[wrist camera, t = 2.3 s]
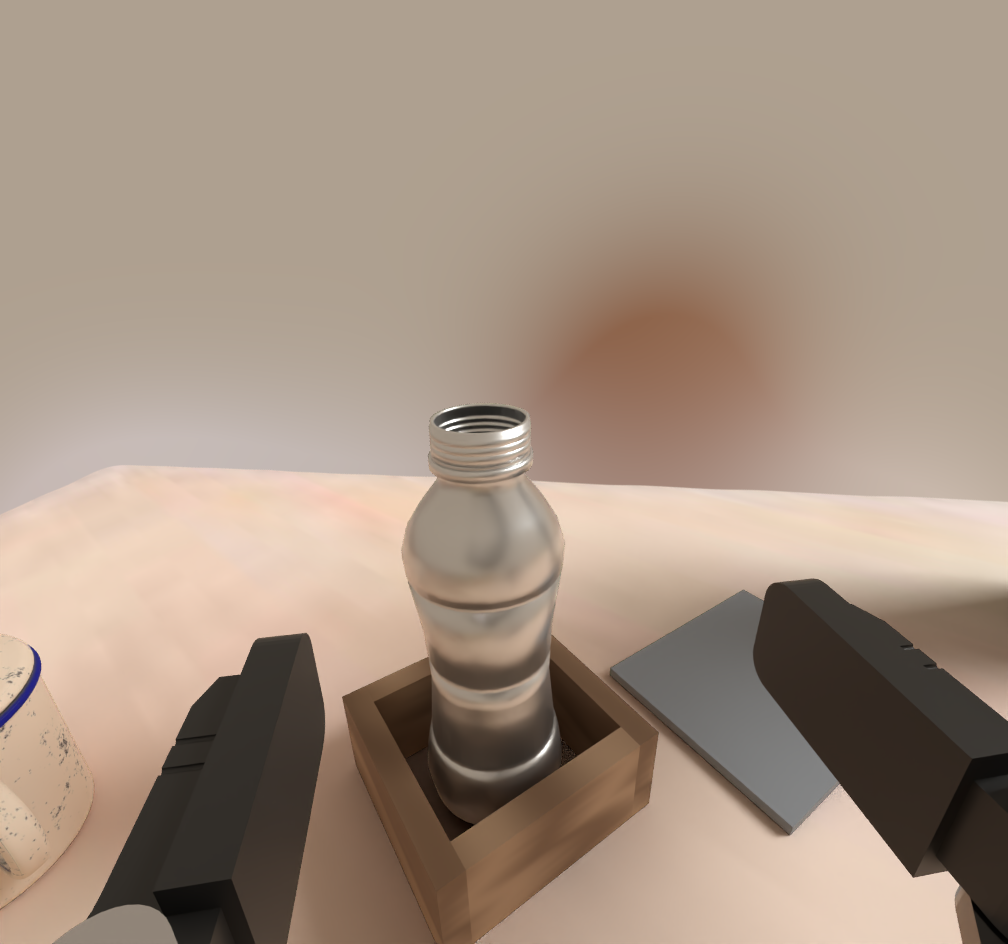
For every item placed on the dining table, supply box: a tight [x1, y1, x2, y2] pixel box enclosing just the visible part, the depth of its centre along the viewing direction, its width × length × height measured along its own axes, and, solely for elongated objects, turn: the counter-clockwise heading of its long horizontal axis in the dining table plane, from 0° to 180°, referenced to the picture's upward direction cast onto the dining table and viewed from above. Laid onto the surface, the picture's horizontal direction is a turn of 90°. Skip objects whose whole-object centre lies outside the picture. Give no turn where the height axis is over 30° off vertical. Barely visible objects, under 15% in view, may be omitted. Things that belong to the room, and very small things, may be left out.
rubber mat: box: [610, 590, 840, 835], centre depth 33 cm, size 14×12×1 cm
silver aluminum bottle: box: [401, 403, 565, 825], centre depth 23 cm, size 6×7×20 cm
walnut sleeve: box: [342, 635, 659, 944], centre depth 26 cm, size 11×10×5 cm
